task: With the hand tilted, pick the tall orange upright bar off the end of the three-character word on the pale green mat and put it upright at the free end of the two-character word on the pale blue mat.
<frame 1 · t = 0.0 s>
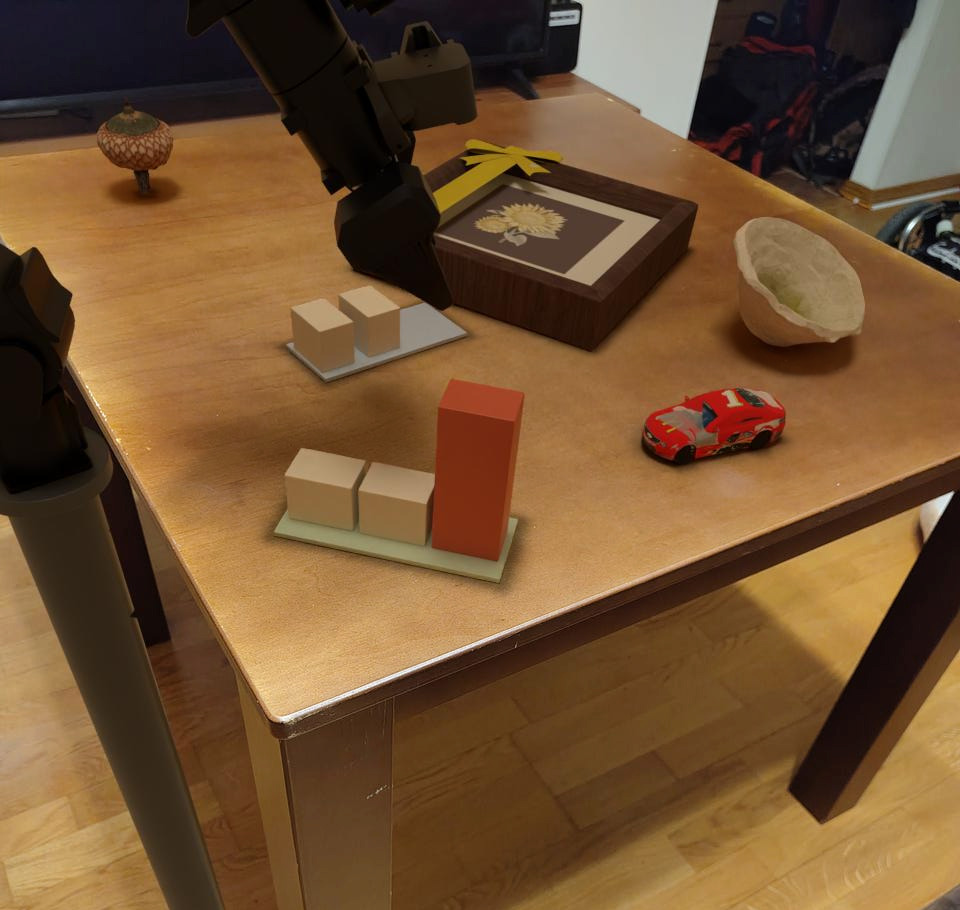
hand: (438, 275, 64), 14 cm above the table, tool tilted 35°, fingers open, 9 cm apart
picture frame: (528, 259, 99), on the table
bowl: (779, 341, 91), on the table
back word: (378, 341, 85), on the table
orange upright bar: (469, 539, 66), resting on front word
acorn: (146, 195, 103), on the table
front word: (398, 529, 67), on the table
race car: (708, 441, 78), on the table
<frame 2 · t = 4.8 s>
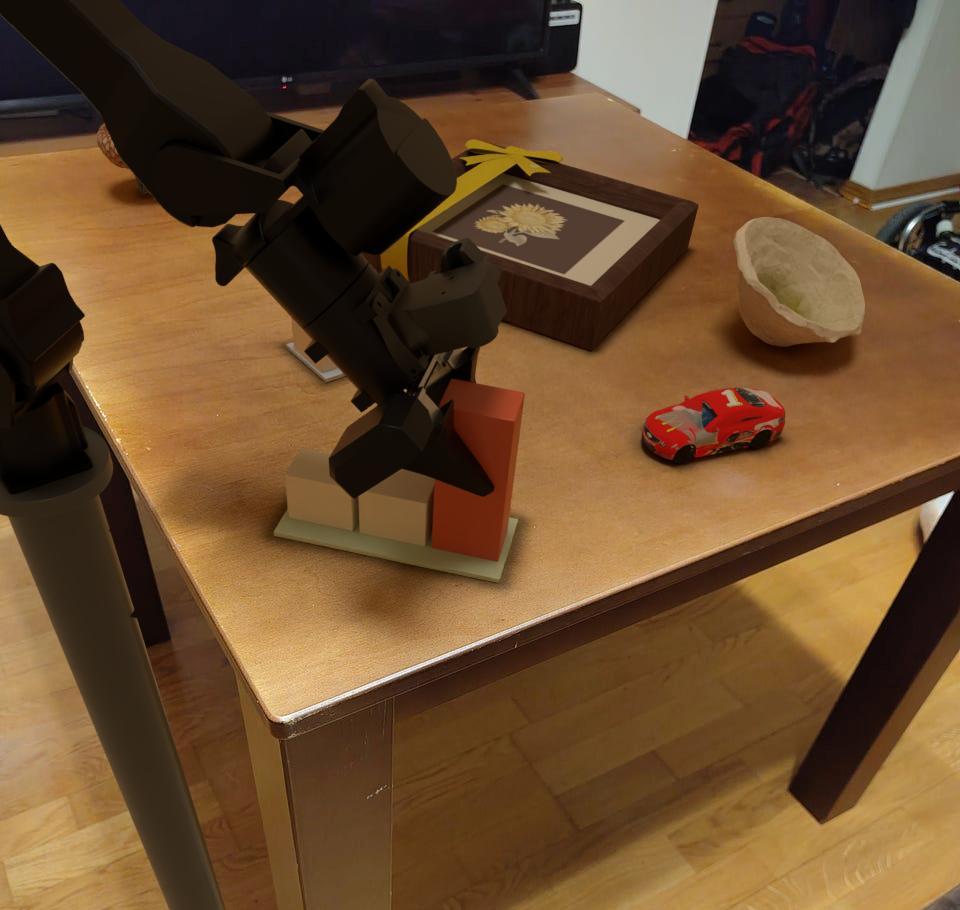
hand: (495, 476, 61), 7 cm above the table, tool tilted 45°, fingers closed on orange upright bar, 3 cm apart
orange upright bar: (469, 539, 66), resting on front word, touching gripper
everything else where it was.
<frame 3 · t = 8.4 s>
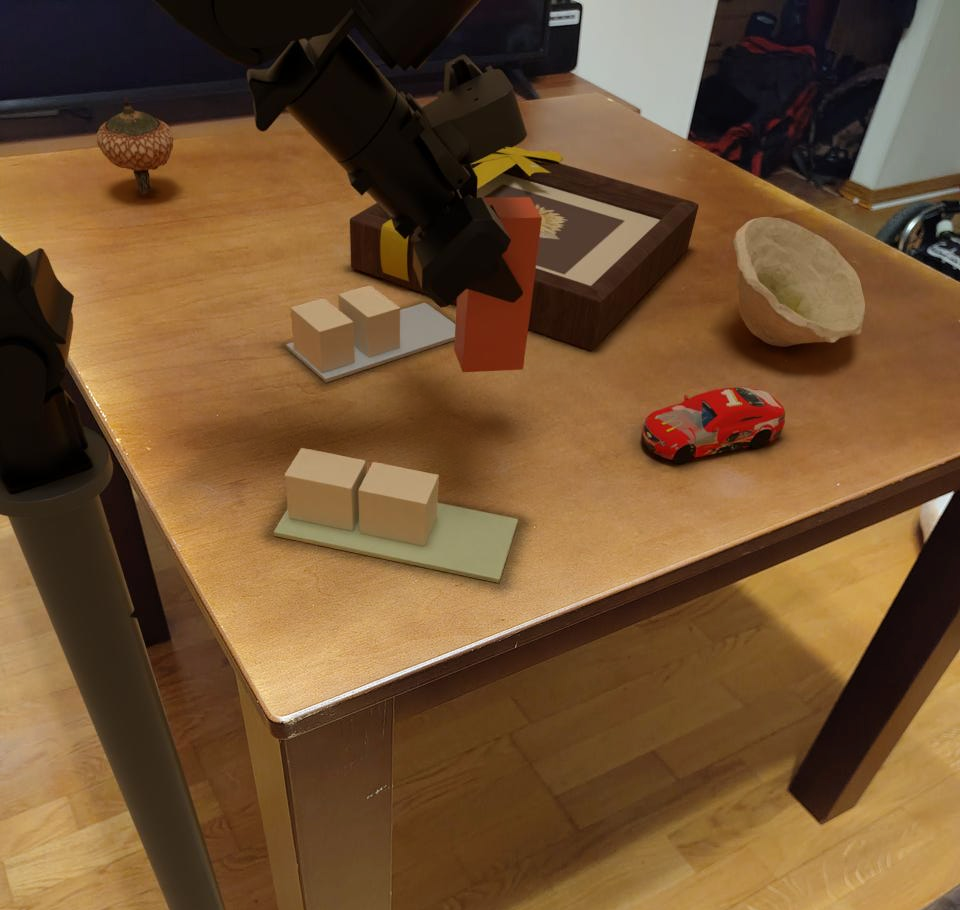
hand: (512, 285, 68), 13 cm above the table, tool tilted 45°, fingers closed on orange upright bar, 3 cm apart
orange upright bar: (488, 359, 72), point 6 cm above the table, touching gripper
everything else where it was.
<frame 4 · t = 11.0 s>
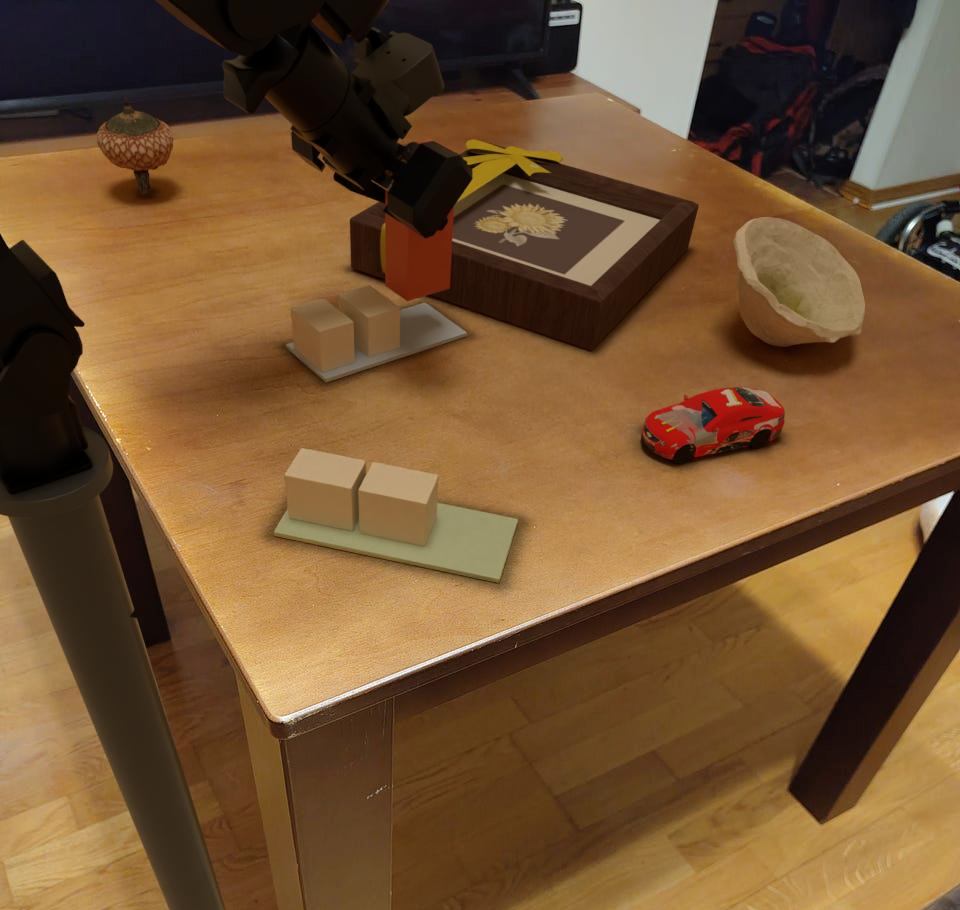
hand: (431, 217, 80), 10 cm above the table, tool tilted 45°, fingers closed on orange upright bar, 3 cm apart
orange upright bar: (417, 287, 84), point 4 cm above the table, touching gripper
everything else where it was.
when the fingers open (7 cm above the table, at t = 12.5 s): orange upright bar stays where it is, resting on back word.
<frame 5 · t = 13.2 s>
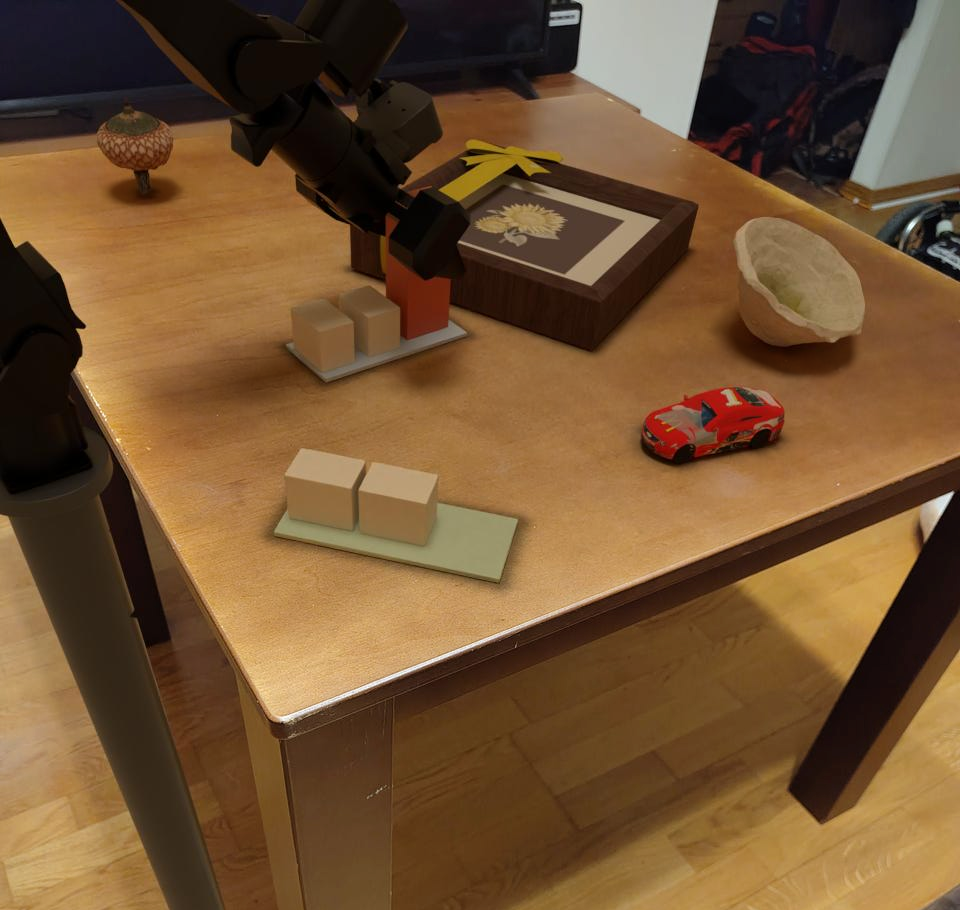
hand: (431, 255, 82), 7 cm above the table, tool tilted 45°, fingers open, 9 cm apart
orange upright bar: (417, 326, 87), resting on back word
everything else where it was.
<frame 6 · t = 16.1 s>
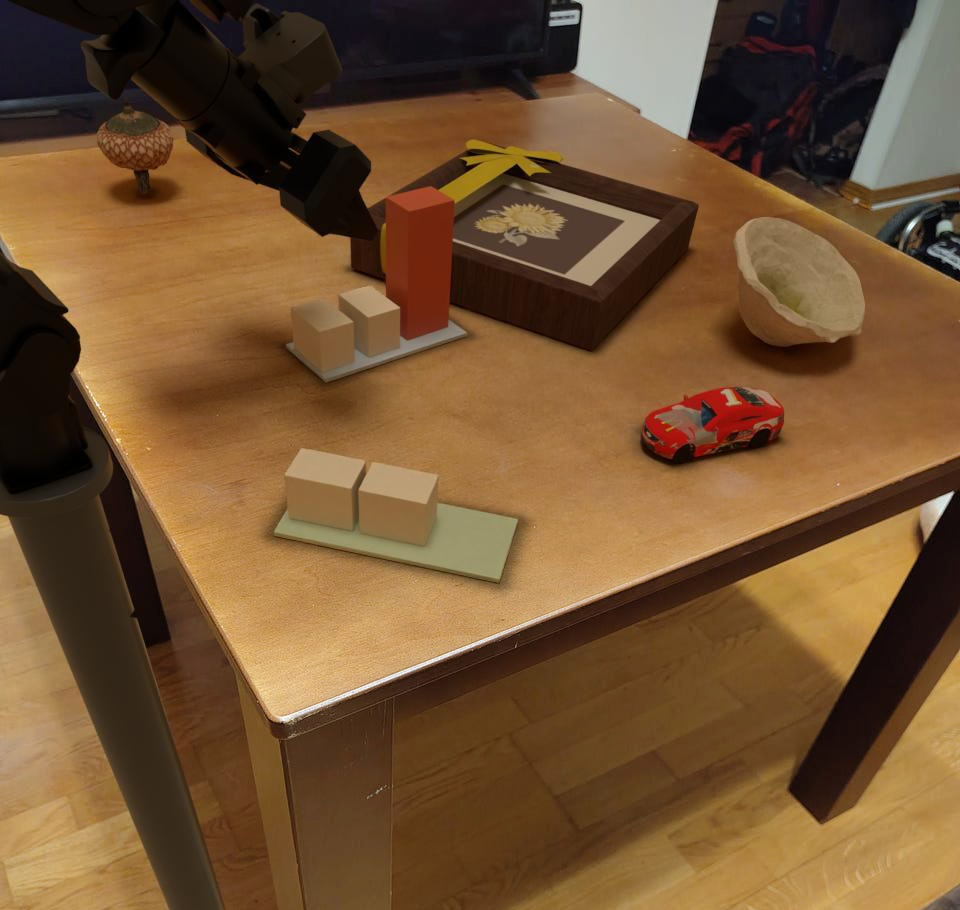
hand: (342, 214, 74), 13 cm above the table, tool tilted 45°, fingers open, 9 cm apart
nothing on the table moved.
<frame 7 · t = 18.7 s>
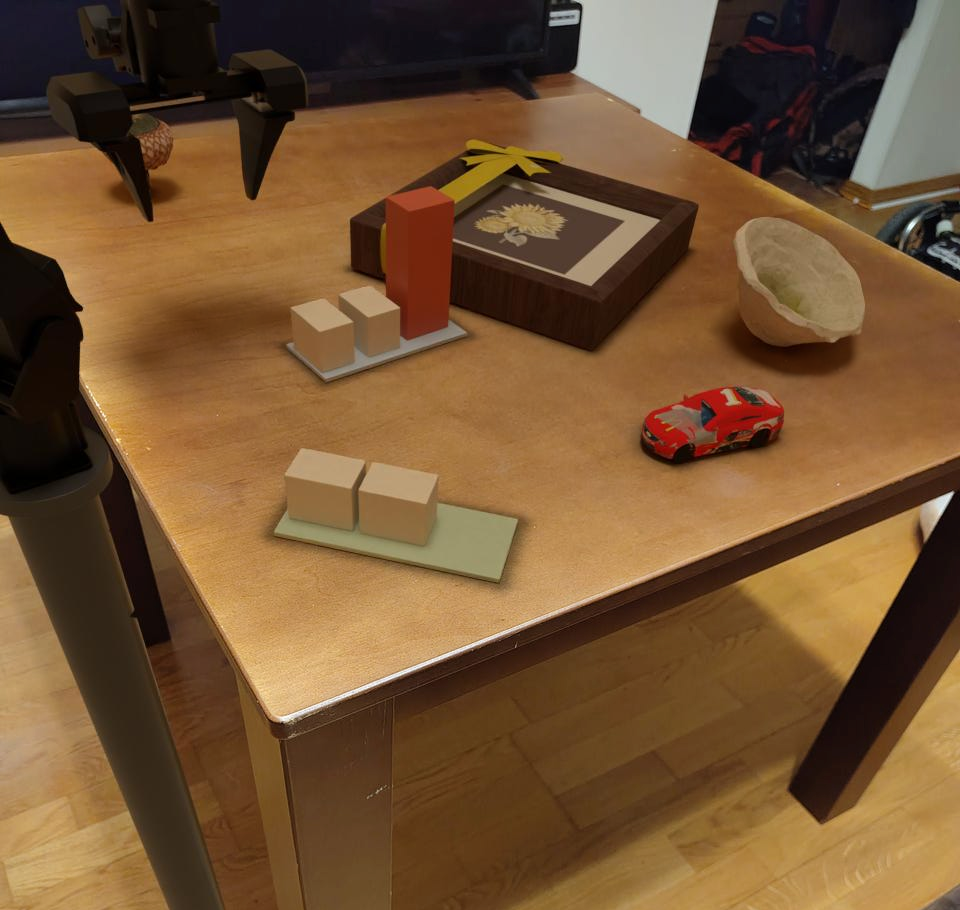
hand: (201, 209, 74), 12 cm above the table, tool pointing down, fingers open, 9 cm apart
nothing on the table moved.
at the end: orange upright bar 0.0 cm from the target spot on the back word, point 0.4 cm above the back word's base; orange upright bar tilted 0°; the gripper is holding nothing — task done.
